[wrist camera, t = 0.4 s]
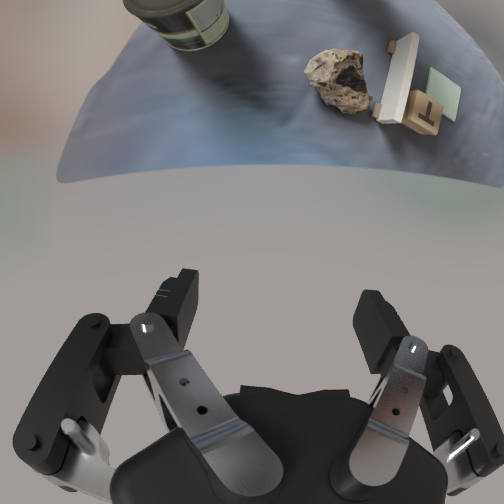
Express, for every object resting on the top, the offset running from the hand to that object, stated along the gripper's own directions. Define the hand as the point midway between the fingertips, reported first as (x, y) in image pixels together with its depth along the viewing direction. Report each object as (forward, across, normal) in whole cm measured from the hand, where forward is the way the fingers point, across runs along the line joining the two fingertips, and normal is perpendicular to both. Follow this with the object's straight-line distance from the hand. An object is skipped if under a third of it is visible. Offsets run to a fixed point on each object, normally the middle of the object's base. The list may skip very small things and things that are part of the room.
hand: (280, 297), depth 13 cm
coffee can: (+29, +14, -24) cm, 40 cm away
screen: (+29, -16, -20) cm, 38 cm away
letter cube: (+29, -20, -16) cm, 38 cm away
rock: (+29, -7, -16) cm, 34 cm away
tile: (+29, -26, -21) cm, 44 cm away
